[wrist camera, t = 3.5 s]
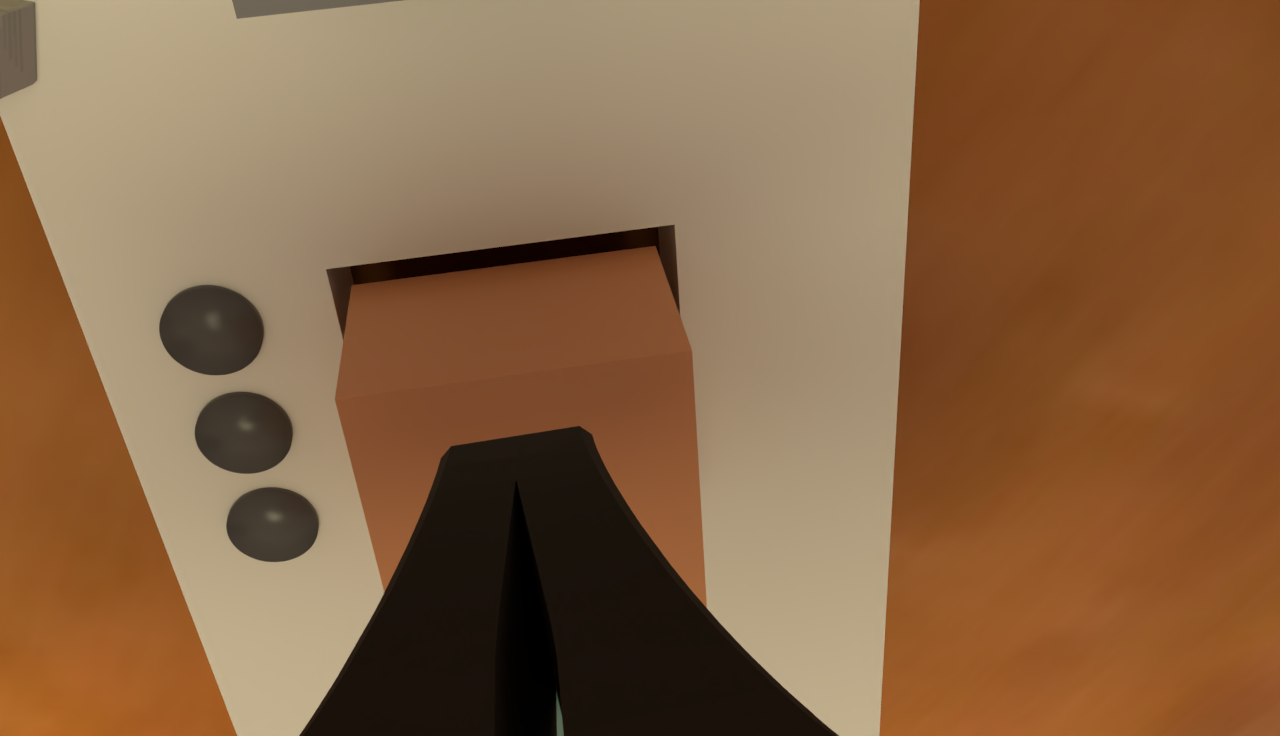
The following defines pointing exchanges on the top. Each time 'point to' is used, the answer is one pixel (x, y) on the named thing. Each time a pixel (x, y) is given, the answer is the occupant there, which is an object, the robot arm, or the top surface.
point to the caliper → (17, 46)
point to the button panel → (472, 220)
